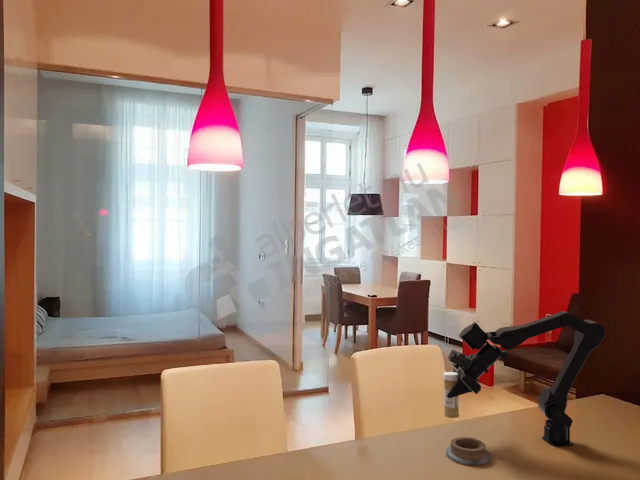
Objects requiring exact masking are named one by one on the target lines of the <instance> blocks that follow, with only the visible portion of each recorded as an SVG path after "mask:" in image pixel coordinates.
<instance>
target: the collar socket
mask: <svg viewBox="0 0 640 480" xmlns="http://www.w3.org/2000/svg"><path fill="white" fill-rule="evenodd" d="M445 453H446V454H445V455H446V457H447V458H448V459H449V460H451V461H453V462H455V463H456V464H461V465H465V466H482V465H485V464H488V463H489V462H490V461H491V454H490V452H489V451H488V450H487V449H486V444H485V443H484V442H483V441H482V440H479V439H476V438H475V437H468V436H462V437H461V436H460V437H455V438H453V439H451V440H450V445H449V446H448V447H447V448H446V451H445Z"/></svg>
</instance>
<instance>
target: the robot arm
mask: <svg viewBox="0 0 640 480" xmlns="http://www.w3.org/2000/svg"><path fill="white" fill-rule="evenodd" d="M563 327H568V328H569V329H573V330H575V333H574V338H573V345H572V348H571V350H570V352H569V353H568V355H567V357H566V359H565V361H564V363H563V364H562V366H561V369H560V370H559V373H558V375H557V376H556V378H555V380H554V382H553V384H552V385H551V386H550V387H549V388H547V387H545V386H544V387H542V390H541V392H540V394H539V395H538V396H537V397H536V398H537V399H538V401H537V406H538V409H540V411H541V412H542V413H543V414H544V416H545V417H546V418H547V420H546V419H545V422H544V423H545V424H544V426H543V436H542V437H541V438H542V440H545V441H546V442H547V443H549V444H550V445H552V446H553V447H562V446H573V445H574V442H572V441H571V427H572V424H573V422H574V421H573V419H572V418H571V417H570V416H569V415H568V414H567V413H566V409H567V406H568V394H569V392H570V390H571V388H572V386H573V385H574V382H575V381H576V379H577V377H578V375H579V373H580V371H581V369H582V367H583V365H584V364H585V362H586V360H587V357H588V356H589V354H590V352H592V351H593V350H595V349H596V348H597V347H598V346H599V345H600V344H601V343H602V342H603V340H604V338H605V337H606V331H605V327H604V326H603V325H602V324H601V323H598V322H595V321H593V320H591V319H581V318H578V317H576V316H574V315H572V314H571V313H569V312H566V311H564V310H561V311H558V312H556V313H554V314H551V315H548V316H546V317H542V318H539V319H536V320H534V321H531V322H527V323H525V324H521V325H510V326H503V327H499V328H497V329H496V330H495V331H487V332H486V331H484V329H482V328H481V326H480V325H479V324H478V323H477V322H475V321H473V322H472V323H471V324H469V325H468V326H466V327H464V328H463V329H462V330H461V332H460V333H459V334H458V337H459V338H460V339H461V340H462V341H463V343H465V344H466V345H467V346H468V347H469V348H470V349H471V350H473V351H474V350H476V353H474V354H473V353H472V354H469V356H467V355H466V354H465V353H463V352H461V351H457V350H455V349H453V348H452V349H451V350H450V352H449V355H448V357H447V359H448V361H449V362H450V363H452V366H453V367H454V368H452V372H456V373H458V374H459V376H458V375H457V382H456V384H455V385H454V386H453V388H452V389H451V390H450V392H449V393H448V394H447V397H448V398H452V397H455V396H458V397H459V396H461V395H465V394H468V393H474V394H476V395H478V394H479V393H480V392H481V390H482V386H481V384H480V382H479V381H480V379H479V378H480V377H482V376H483V374H484V373H485V374H488V373H489V369H490V368H491V367H492V366H493V365H494V364H495V363H496V362H497V361H498V360H499V359H500V358H501V359H502V360H503V361H504V362H507V361H508V352H507V350H512V349H515V348H517V347H519V346H520V345H522V344H523V343H524V342H526V341H527V340H529V339H530V338H534V337H536V336H540V335H543V334H546V333H549V332H551V331H554V330H555V331H556V330H557V329H561V328H563ZM488 340H489V341H490V342H491V343H492V344H493V345H492V344H491V343H489V341H488ZM500 347H501V348H502V349H504V350H502V349H501V348H500Z"/></svg>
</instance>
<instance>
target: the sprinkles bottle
mask: <svg viewBox="0 0 640 480" xmlns="http://www.w3.org/2000/svg"><path fill="white" fill-rule="evenodd" d="M457 375H458V376H459V374H458V373H456V372H453V371H445V372H444V373H443V385H444V386H443V387H444V388H443V397H444V398H443V404H444V405H443V406H444V414H443V415H444V417H446V418H449V419H456V418H457V419H458V418H459V416H460V415H459V409H460V408H459V406H460V405H459V401H460V400H459V399H460V398H459V395H458V396H455V397H452V398H448V397H447V394H448V393H449V392H450V390H451V389H452V388H453V386H454V385H455V384H456V382H457Z"/></svg>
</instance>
